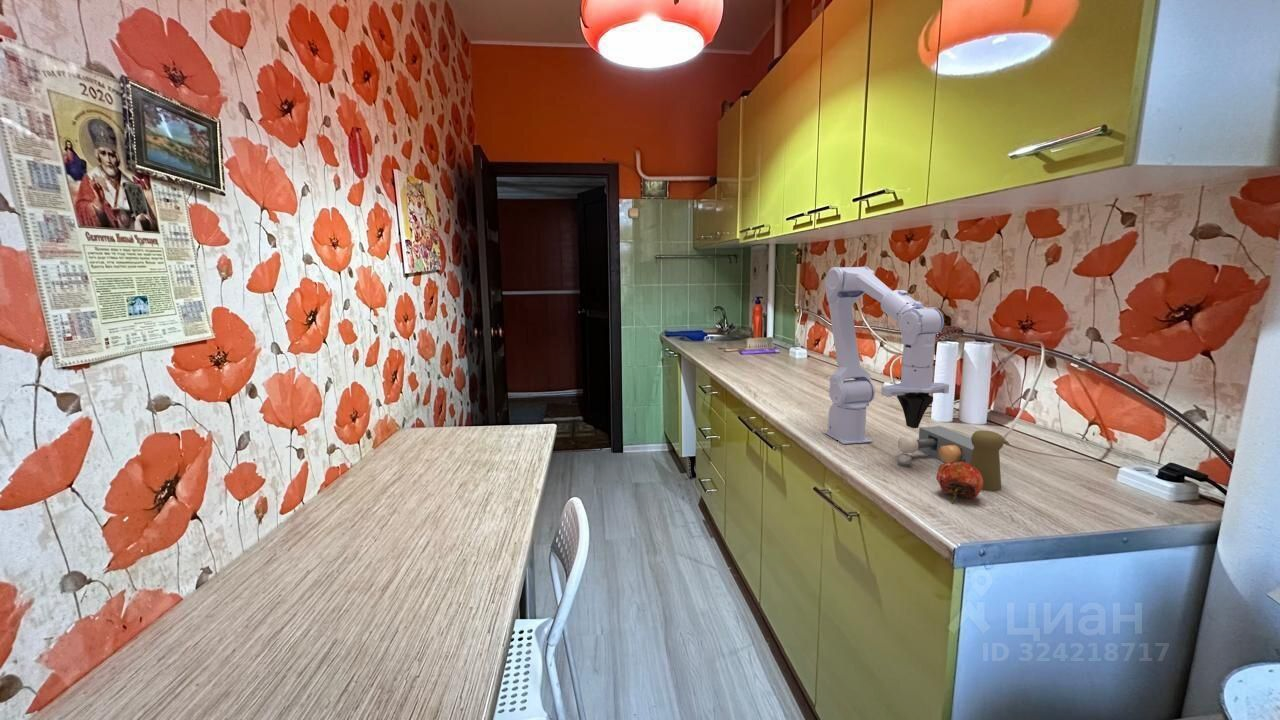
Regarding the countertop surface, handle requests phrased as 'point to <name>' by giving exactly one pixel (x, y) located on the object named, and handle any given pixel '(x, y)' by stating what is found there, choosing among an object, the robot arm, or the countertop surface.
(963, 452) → the mount
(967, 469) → the pomegranate
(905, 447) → the cream knob
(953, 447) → the orange knob
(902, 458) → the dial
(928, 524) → the countertop surface
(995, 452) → the cork
